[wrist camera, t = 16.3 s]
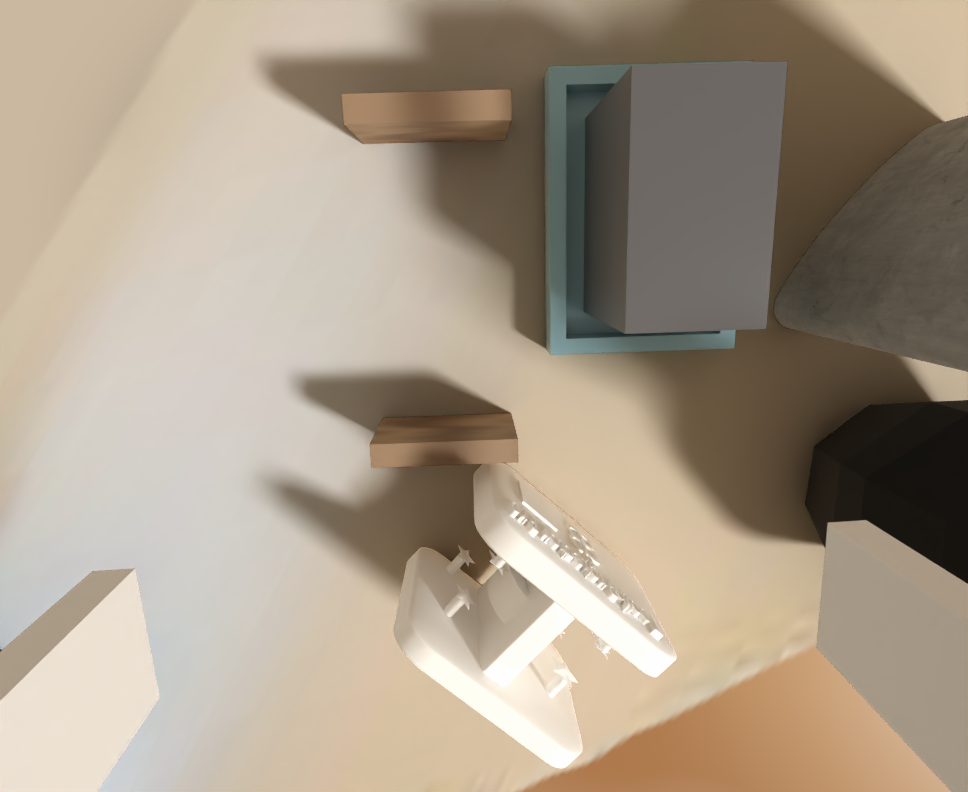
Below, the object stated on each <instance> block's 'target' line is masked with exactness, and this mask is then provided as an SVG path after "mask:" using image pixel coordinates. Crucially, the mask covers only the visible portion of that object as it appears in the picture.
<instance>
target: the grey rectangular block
mask: <svg viewBox="0 0 968 792" xmlns="http://www.w3.org/2000/svg"><path fill="white" fill-rule="evenodd" d="M787 64H788V61H774V62H736V63H698V64H660V65H632V66H631V67H630V68H629V69H628V70H627V71H626V72H625V74H624V75H623V76H622V77H621V78H620V79H619V80H618V82H617V83H616V84H615V85H614V86H613V87H612V88H611V90H610V91H609V92H608V93H607V94H606V95H605V96H604V98H603V99H602V100H601V101H600V102H599V103H598V104H597V106H596V107H595V108H594V109H593V110H592V111H591V112H590V114H589V115H588V116H587V117H586V118H585V199H584V312H585V313H587V314H588V315H590V316H592V317H594V318H596V319H598V320H600V321H602V322H604V323H606V324H607V325H609V326H611V327H613V328H615V329H617V330H619V331H621V332H623V333H625V334H635V333H664V332H694V331H723V330H753V329H766V326H767V314H768V301H769V289H770V276H771V264H772V251H773V239H774V226H775V214H776V201H777V189H778V176H779V164H780V151H781V139H782V126H783V114H784V101H785V89H786V76H787Z"/></svg>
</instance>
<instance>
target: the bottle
mask: <svg viewBox="0 0 968 792" xmlns="http://www.w3.org/2000/svg"><path fill="white" fill-rule="evenodd" d="M805 506H806V508H807V510H808V512H809V514H810V516H811V519H812V521H813V523H814V525H815V527H816V529H817V532H818V534H819V536H820V538H821V540H822V542H823V545H824V547H826V536H827V525H828V523H830V522H845V521H860V520H867V521H868V522H870V523H871V524H873V525H875V526H876V527H878V528H879V529H881V530H883V531H884V532H886V533H887V534H889V535H891V536H892V537H894V538H895V539H897V540H898V541H900V542H902V543H903V544H905V545H906V546H908V547H910V548H911V549H913V550H914V551H916V552H918V553H919V554H921V555H922V556H924V557H926V558H927V559H929V560H930V561H932V562H933V563H935V564H937V565H938V566H940V567H941V568H943V569H945V570H946V571H948V572H949V573H951V574H953V575H954V576H956V577H957V578H959V579H961V580H962V581H964V582H965V583H967V584H968V400H964V401H941V402H920V403H901V404H882V405H869V406H868V407H866V408H865V409H864V410H862V411H861V412H860V413H858V414H857V415H856V416H854V417H853V418H851V419H850V420H849V421H847V422H846V423H845V424H843V425H842V426H841V427H839V428H838V429H837V430H835V431H834V432H833V433H831V434H830V435H829V436H827V437H826V438H825V439H823V440H822V441H821V442H819V443H818V444H817V445H815V446H814V452H813V459H812V465H811V471H810V477H809V484H808V490H807V496H806V503H805Z"/></svg>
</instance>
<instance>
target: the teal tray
mask: <svg viewBox="0 0 968 792" xmlns="http://www.w3.org/2000/svg"><path fill="white" fill-rule="evenodd" d="M736 62H754V61H725V62H688V63H651V64H615V65H578V66H549V68H548V70H547V72H546V75H545V77H544V157H545V294H546V350H547V351H548V352H549V353H550V355H561V354H589V353H618V352H646V351H674V350H702V349H731V348H734V347H735V332H736V330H723V331H694V332H664V333H635V334H625V333H623V332H621V331H619V330H617V329H615V328H613V327H611V326H609V325H607V324H606V323H604V322H602V321H600V320H598V319H596V318H594V317H592V316H590V315H588V314H587V313H585V312H584V199H585V118H586V117H587V116H588V115H589V114H590V112H591V111H592V110H593V109H594V108H595V107H596V106H597V104H598V103H599V102H600V101H601V100H602V99H603V98H604V96H605V95H606V94H607V93H608V92H609V91H610V90H611V88H612V87H613V86H614V85H615V84H616V83H617V82H618V80H619V79H620V78H621V77H622V76H623V75H624V74H625V72H626V71H627V70H628V69H629V68H630V67H631V66H632V65H660V64H698V63H736Z"/></svg>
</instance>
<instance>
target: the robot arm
mask: <svg viewBox="0 0 968 792" xmlns="http://www.w3.org/2000/svg"><path fill="white" fill-rule="evenodd" d="M816 648H817V649H818V650H819V651H820V652H821V653H822V654H823V655H824V656H825V658H826V659H827V660H828V661H829V662H830V663H831V664H832V665H833V666H834V667H835V668H836V669H837V670H838V671H839V672H840V673H841V674H842V676H844V678H845V679H846V680H847V681H848V682H849V683H850V684H851V685H852V686H853V687H854V688H855V689H856V690H857V692H858V693H859V694H860V695H861V696H862V697H863V698H864V699H865V700H866V701H867V702H868V703H869V704H870V705H871V706H872V707H873V709H874V710H875V711H876V712H877V713H878V714H879V715H880V716H881V717H882V718H883V719H884V720H885V721H886V722H887V723H888V724H889V726H890V727H891V728H892V729H893V730H894V731H895V732H896V733H897V734H898V735H899V736H900V737H901V738H902V739H903V740H904V741H905V743H907V745H908V746H909V747H910V748H911V749H912V750H913V751H914V752H915V753H916V754H917V755H918V756H919V757H920V758H921V760H922V761H923V762H924V763H925V764H926V765H927V766H928V767H929V768H930V769H931V770H932V771H933V772H934V773H935V774H936V776H937V777H939V779H940V780H941V781H942V782H943V783H944V784H945V785H946V786H947V787H948V788H949V789H950V790H951V791H952V792H968V584H967V583H965V582H964V581H962V580H961V579H959V578H957V577H956V576H954V575H953V574H951V573H949V572H948V571H946V570H945V569H943V568H941V567H940V566H938V565H937V564H935V563H933V562H932V561H930V560H929V559H927V558H926V557H924V556H922V555H921V554H919V553H918V552H916V551H914V550H913V549H911V548H910V547H908V546H906V545H905V544H903V543H902V542H900V541H898V540H897V539H895V538H894V537H892V536H891V535H889V534H887V533H886V532H884V531H883V530H881V529H879V528H878V527H876V526H875V525H873V524H871V523H870V522H868V521H867V520H860V521H845V522H830V523H828V525H827V536H826V547H825V558H824V569H823V580H822V591H821V601H820V612H819V623H818V634H817V645H816ZM159 698H160V696H159V691H158V686H157V680H156V675H155V670H154V665H153V660H152V654H151V649H150V644H149V639H148V634H147V629H146V623H145V618H144V613H143V608H142V603H141V597H140V592H139V587H138V582H137V577H136V571H135V569H121V570H106V571H92V572H91V573H90V574H89V575H88V576H86V577H85V578H84V579H83V580H82V581H81V582H80V583H78V584H77V585H76V586H75V587H74V588H73V589H72V590H70V591H69V592H68V593H67V594H66V595H65V596H64V597H62V598H61V599H60V600H59V601H58V602H57V603H56V604H54V605H53V606H52V607H51V608H50V609H49V610H48V611H46V612H45V613H44V614H43V615H42V616H41V617H40V618H38V619H37V620H36V621H35V622H34V623H33V624H32V625H30V626H29V627H28V628H27V629H26V630H25V631H23V632H22V633H21V634H20V635H19V636H18V637H17V638H15V639H14V640H13V641H12V642H11V643H10V644H9V645H7V646H6V647H5V648H4V649H3V650H2V651H1V652H0V792H97V791H98V790H99V788H100V787H101V785H102V784H103V782H104V781H105V779H106V778H107V776H108V775H109V773H110V772H111V770H112V769H113V767H114V766H115V764H116V763H117V761H118V760H119V758H120V757H121V755H122V754H123V752H124V750H125V749H126V747H127V746H128V744H129V743H130V741H131V740H132V738H133V737H134V735H135V734H136V732H137V731H138V729H139V728H140V726H141V725H142V723H143V722H144V720H145V719H146V717H147V716H148V714H149V713H150V711H151V710H152V708H153V707H154V705H155V704H156V702H157V701H158V699H159Z"/></svg>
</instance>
